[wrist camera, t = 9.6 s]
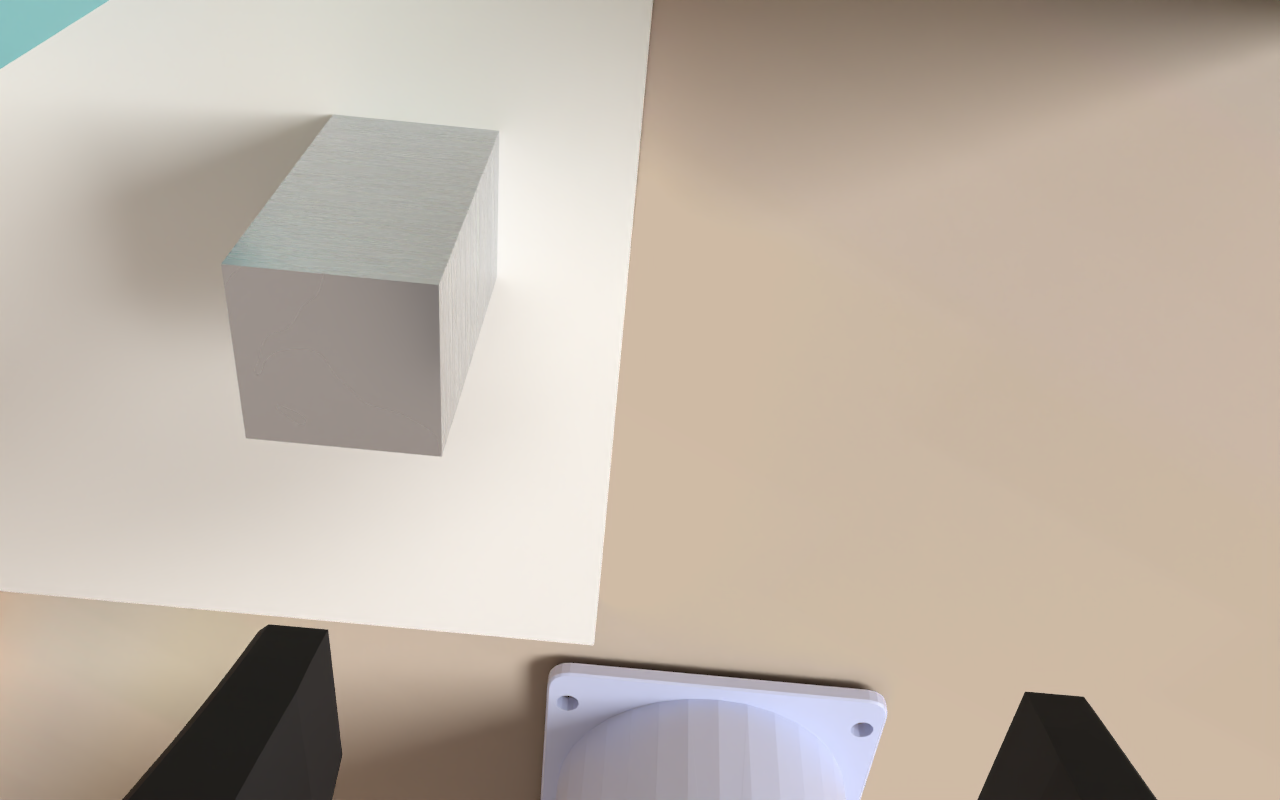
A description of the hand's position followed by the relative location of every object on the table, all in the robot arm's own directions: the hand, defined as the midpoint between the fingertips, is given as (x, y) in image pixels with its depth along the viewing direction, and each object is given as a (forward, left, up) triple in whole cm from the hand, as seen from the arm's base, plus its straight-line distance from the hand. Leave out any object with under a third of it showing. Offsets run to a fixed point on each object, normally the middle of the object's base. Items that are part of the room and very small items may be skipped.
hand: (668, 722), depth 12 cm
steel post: (+1, +4, -9) cm, 10 cm away
